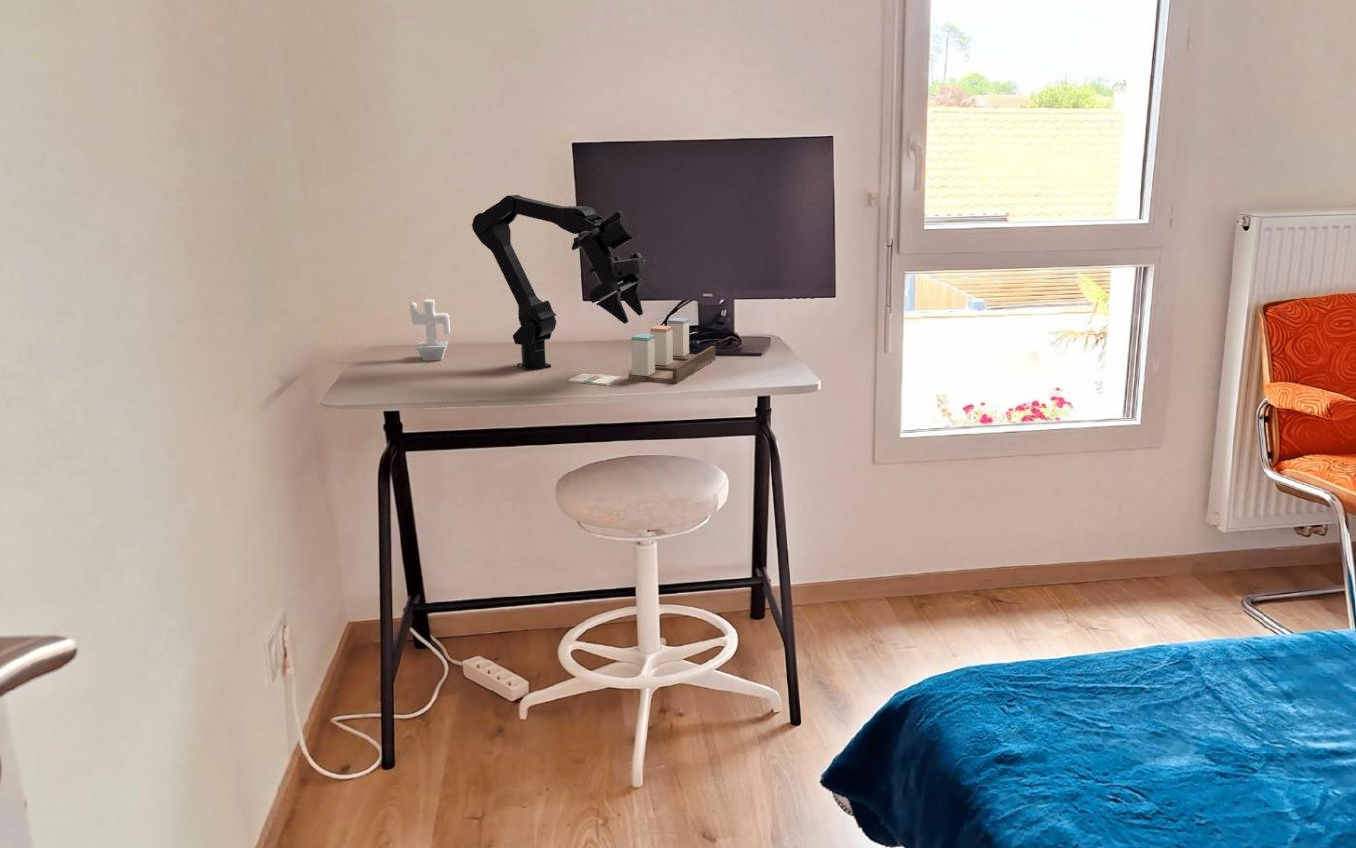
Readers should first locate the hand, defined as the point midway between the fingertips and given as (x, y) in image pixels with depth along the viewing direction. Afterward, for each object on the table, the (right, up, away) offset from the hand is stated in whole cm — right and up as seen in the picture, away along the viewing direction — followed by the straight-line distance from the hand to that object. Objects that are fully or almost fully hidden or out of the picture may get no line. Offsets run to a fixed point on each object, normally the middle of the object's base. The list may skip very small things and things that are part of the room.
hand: (634, 318), depth 225 cm
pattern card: (-9, -14, 0) cm, 17 cm away
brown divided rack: (+9, -11, +10) cm, 17 cm away
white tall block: (+2, -13, +1) cm, 13 cm away
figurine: (-52, -8, +23) cm, 57 cm away
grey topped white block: (+10, -7, +21) cm, 24 cm away
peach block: (+6, -10, +11) cm, 16 cm away
